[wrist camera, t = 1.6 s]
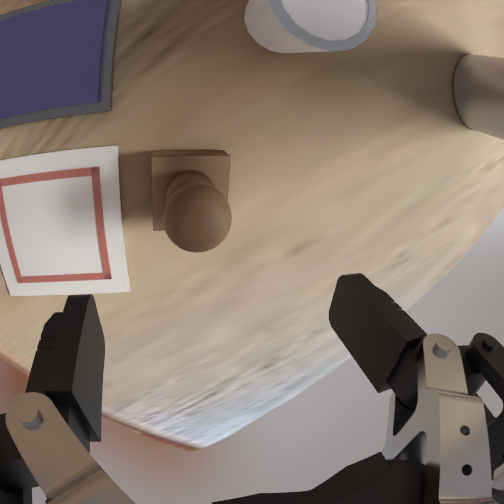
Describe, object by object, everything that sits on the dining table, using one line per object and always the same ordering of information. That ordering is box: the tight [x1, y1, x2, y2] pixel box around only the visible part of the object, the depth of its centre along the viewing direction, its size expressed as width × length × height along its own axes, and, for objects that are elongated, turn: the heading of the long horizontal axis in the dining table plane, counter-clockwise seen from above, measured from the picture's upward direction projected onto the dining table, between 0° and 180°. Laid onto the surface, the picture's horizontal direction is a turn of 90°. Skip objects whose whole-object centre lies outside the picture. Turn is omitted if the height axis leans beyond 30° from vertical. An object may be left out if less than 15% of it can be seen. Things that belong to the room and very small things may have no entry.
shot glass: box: [244, 0, 377, 53], centre depth 15 cm, size 7×7×7 cm
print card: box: [0, 145, 130, 296], centre depth 20 cm, size 12×12×1 cm
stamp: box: [152, 150, 232, 252], centre depth 18 cm, size 5×5×9 cm
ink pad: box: [0, 0, 122, 128], centre depth 13 cm, size 11×9×2 cm
